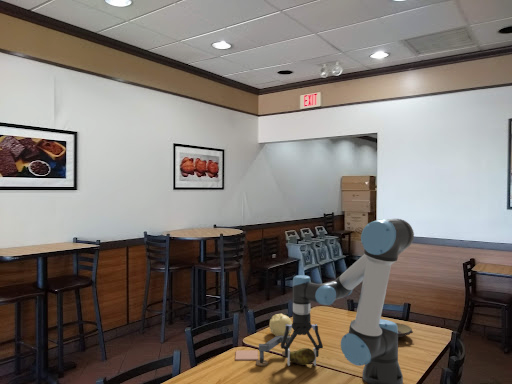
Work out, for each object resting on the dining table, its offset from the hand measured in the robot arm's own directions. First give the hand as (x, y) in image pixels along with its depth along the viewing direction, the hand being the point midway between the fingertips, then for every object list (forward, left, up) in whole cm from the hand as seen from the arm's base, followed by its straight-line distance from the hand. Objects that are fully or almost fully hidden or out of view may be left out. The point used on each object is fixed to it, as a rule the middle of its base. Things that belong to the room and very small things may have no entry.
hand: (301, 364), depth 176 cm
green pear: (0, 0, -1) cm, 1 cm away
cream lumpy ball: (+39, +6, -1) cm, 39 cm away
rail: (+7, +11, 0) cm, 13 cm away
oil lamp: (+38, -48, -1) cm, 61 cm away
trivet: (+11, +23, 0) cm, 26 cm away
